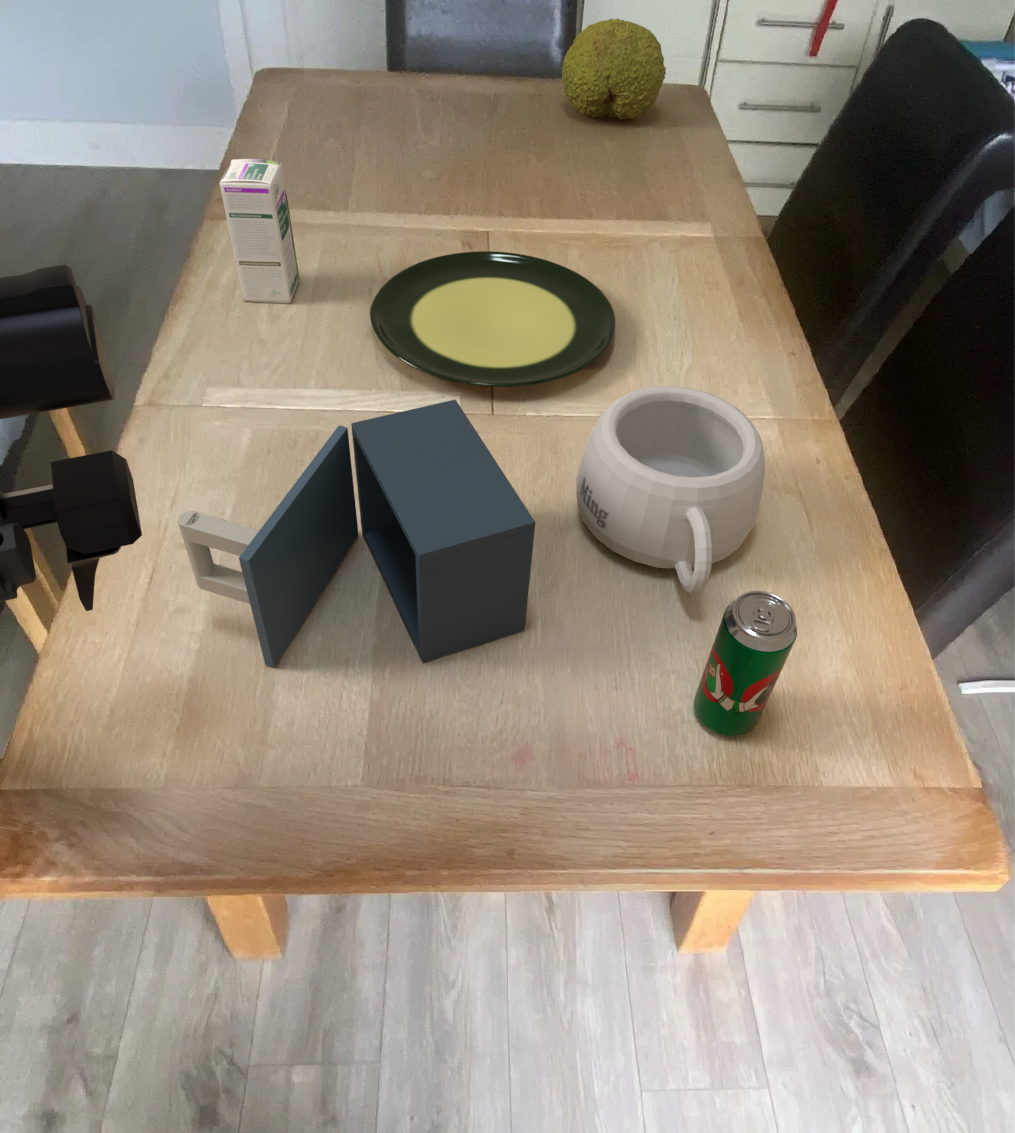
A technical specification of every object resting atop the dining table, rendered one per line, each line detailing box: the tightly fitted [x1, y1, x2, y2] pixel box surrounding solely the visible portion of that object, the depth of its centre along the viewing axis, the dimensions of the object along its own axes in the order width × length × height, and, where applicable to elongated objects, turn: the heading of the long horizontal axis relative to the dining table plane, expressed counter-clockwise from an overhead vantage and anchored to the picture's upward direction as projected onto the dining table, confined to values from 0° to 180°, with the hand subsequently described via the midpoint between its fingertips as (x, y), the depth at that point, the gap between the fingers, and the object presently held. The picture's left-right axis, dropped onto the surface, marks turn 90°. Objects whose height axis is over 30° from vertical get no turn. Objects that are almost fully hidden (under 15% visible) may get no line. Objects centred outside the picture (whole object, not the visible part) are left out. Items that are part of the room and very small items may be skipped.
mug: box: [576, 385, 766, 595], centre depth 80 cm, size 21×17×10 cm
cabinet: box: [350, 399, 536, 664], centre depth 73 cm, size 9×16×13 cm, turn 24°
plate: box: [369, 250, 616, 388], centre depth 104 cm, size 28×28×2 cm
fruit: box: [561, 17, 667, 121], centre depth 145 cm, size 16×14×15 cm
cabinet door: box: [177, 425, 360, 668], centre depth 72 cm, size 7×16×12 cm, turn 161°
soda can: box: [693, 590, 798, 737], centre depth 66 cm, size 5×5×12 cm
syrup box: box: [218, 158, 300, 304], centre depth 103 cm, size 6×6×14 cm
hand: (11, 624), depth 56 cm, fingers open, 9 cm apart
